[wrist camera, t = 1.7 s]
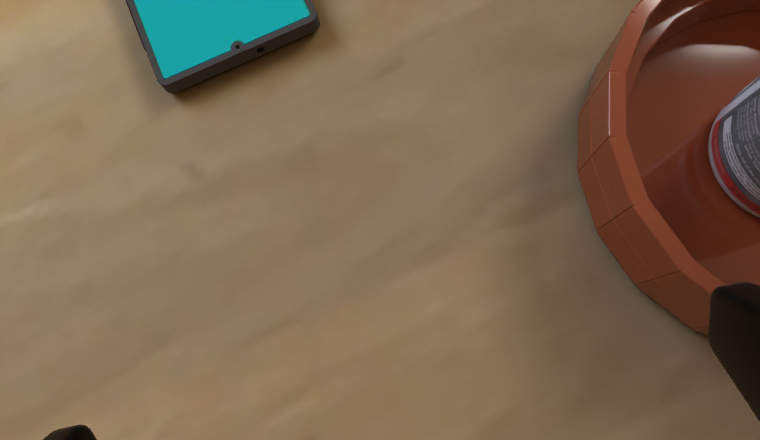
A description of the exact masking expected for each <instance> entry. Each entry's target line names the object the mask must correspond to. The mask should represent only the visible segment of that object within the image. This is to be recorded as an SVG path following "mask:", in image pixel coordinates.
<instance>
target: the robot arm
mask: <svg viewBox="0 0 760 440" xmlns="http://www.w3.org/2000/svg"><path fill="white" fill-rule="evenodd" d="M708 337H709V342H710V345H711V347H712V350H713V352H714V353H715V355H716V356H717V358H718V359H719V361H720V362H721V364H722V365H723V367H724V368H725V370H726V371H727V373H728V374H729V376H730V377H731V379H732V380H733V382H734V384H735V385H736V387H737V388H738V390H739V391H740V393H741V394H742V396H743V397H744V399H745V400H746V402H747V403H748V405H749V406H750V408H751V409H752V411H753V412H754V414H755V415H756V417H757V418H758V420H759V421H760V286H759V285H756V284H752V283H749V282H737V283H733V284H728V285H723V286H719V287H717V288H715V289H714V290H713V292H712V293H711V298H710V312H709V328H708ZM43 440H97V439H96V438H95V436H94V434H93V433H92V431H91V430H90V428H88V427H87V426H85V425H76V426H71V427H67V428H62V429H58V430H55V431H53V432H52V433H50V434H49V435H48V436H47V437H45V438H44V439H43Z"/></svg>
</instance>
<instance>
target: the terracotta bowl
mask: <svg viewBox="0 0 760 440" xmlns="http://www.w3.org/2000/svg"><path fill="white" fill-rule="evenodd" d="M759 76H760V0H641V1H640V2H639V3H638V4H637V5H636V6H635V7H634V9H633V10H632V11H631V12H630V14H629V16H628V17H627V19H626V20H625V22H624V24H623V25H622V27H621V28H620V30H619V32H618V33H617V35H616V36H615V38H614V40H613V41H612V43H611V45H610V46H609V48H608V49H607V51H606V52H605V54H604V56H603V57H602V59H601V60H600V62H599V64H598V65H597V67H596V70H595V73H594V75H593V78H592V80H591V83H590V86H589V88H588V91H587V93H586V96H585V99H584V101H583V104H582V106H581V109H580V112H579V116H578V158H577V171H578V176H579V179H580V182H581V185H582V188H583V191H584V195H585V198H586V201H587V204H588V207H589V210H590V213H591V216H592V219H593V222H594V225H595V228H596V230H597V233H598V234H599V236H600V237H601V239H602V240H603V241H604V243H605V244H606V246H607V247H608V248H609V250H610V251H611V253H612V254H613V255H614V257H615V258H616V260H617V261H618V262H619V264H620V265H621V266H622V268H623V269H624V271H625V272H626V273H627V275H628V276H629V278H630V279H631V280H632V282H633V283H634V284H635V285H636V284H637V285H636V286H637V287H638V288H640V289H641V290H642V291H643V292H645V293H646V294H647V295H648V296H650V297H651V298H652V299H654V300H655V301H656V302H657V303H659V304H660V305H661V306H663V307H664V308H665V309H666V310H668V311H669V312H670V313H672V314H673V315H674V316H675V317H677V318H678V319H679V320H680V321H682V322H683V323H684V324H686V325H687V326H688V327H690V328H692V330H694V331H697V332H699V333H702V334H704V335H707V336H708V328H709V312H710V298H711V293H712V292H713V290H714V289H715V288H717V287H719V286H723V285H728V284H733V283H737V282H749V283H752V284H756V285H759V286H760V218H758V217H756V216H754V215H752V214H751V213H749V212H747V211H746V210H744V209H743V208H741V207H740V206H739V205H738V204H736V203H735V202H734V201H733V200H732V199H731V198H730V197H729V196H728V195H727V194H726V193H725V191H724V190H723V189H722V187H721V186H720V184H719V183H718V181H717V179H716V177H715V175H714V173H713V170H712V167H711V164H710V159H709V152H708V144H709V136H710V131H711V128H712V125H713V123H714V121H715V119H716V117H717V115H718V114H719V112H720V111H721V110H722V108H723V107H724V106H725V105H726V104H727V103H728V102H729V101H730V100H731V99H732V98H733V97H734V96H735V95H736V94H738V93H739V92H740V91H742V90H743V89H744V88H745V87H746V86H748V85H749V84H750V83H751V82H752V81H754V80H755V79H756V78H757V77H759Z"/></svg>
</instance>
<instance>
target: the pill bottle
mask: <svg viewBox="0 0 760 440" xmlns="http://www.w3.org/2000/svg"><path fill="white" fill-rule="evenodd" d="M708 152H709V159H710V164H711V167H712V170H713V173H714V175H715V177H716V179H717V181H718V183H719V184H720V186H721V187H722V189H723V190H724V191H725V193H726V194H727V195H728V196H729V197H730V198H731V199H732V200H733V201H734V202H735V203H736V204H738V205H739V206H740V207H741V208H743V209H744V210H746V211H747V212H749V213H751V214H752V215H754V216H756V217H758V218H760V76H759V77H757V78H756V79H755V80H754V81H752V82H751V83H750V84H749V85H748V86H746V87H745V88H744V89H743V90H742V91H740V92H739V93H738V94H736V95H735V96H734V97H733V98H732V99H731V100H730V101H729V102H728V103H727V104H726V105H725V106H724V107H723V108H722V110H721V111H720V112H719V114H718V115H717V117H716V119H715V121H714V123H713V125H712V128H711V131H710V136H709V144H708Z"/></svg>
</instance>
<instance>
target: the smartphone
mask: <svg viewBox="0 0 760 440" xmlns="http://www.w3.org/2000/svg"><path fill="white" fill-rule="evenodd" d="M126 2H127V5H128V8H129V10H130V13H131V16H132V18H133V21H134V24H135V26H136V29H137V31H138V34H139V37H140V39H141V42H142V45H143V47H144V49H145V51H146V52H147V55H148V57H149V60H150V62H151V65H152V68H153V70H154V73H155V76H156V78H157V81H158V82H159V83H160V84H161V85H162V86H163V88H164V89H165V90H166V91H167V92H169V93H176V92H179V91H181V90H183V89H185V88H188V87H190V86H192V85H194V84H197V83H199V82H201V81H204V80H206V79H208V78H210V77H213V76H215V75H217V74H219V73H222V72H224V71H226V70H228V69H231V68H233V67H235V66H238V65H240V64H242V63H244V62H247V61H249V60H251V59H253V58H256V57H258V56H260V55H263V54H265V53H267V52H269V51H272V50H274V49H276V48H278V47H281V46H283V45H285V44H287V43H290V42H292V41H294V40H297V39H299V38H301V37H303V36H306V35H308V34H310V33H312V32H315V31H316V30H317V29H318V28H319V25H320V23H319V19H318V16H317V13H316V10H315V8H314V6H313V4H312V2H311V0H126Z"/></svg>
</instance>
